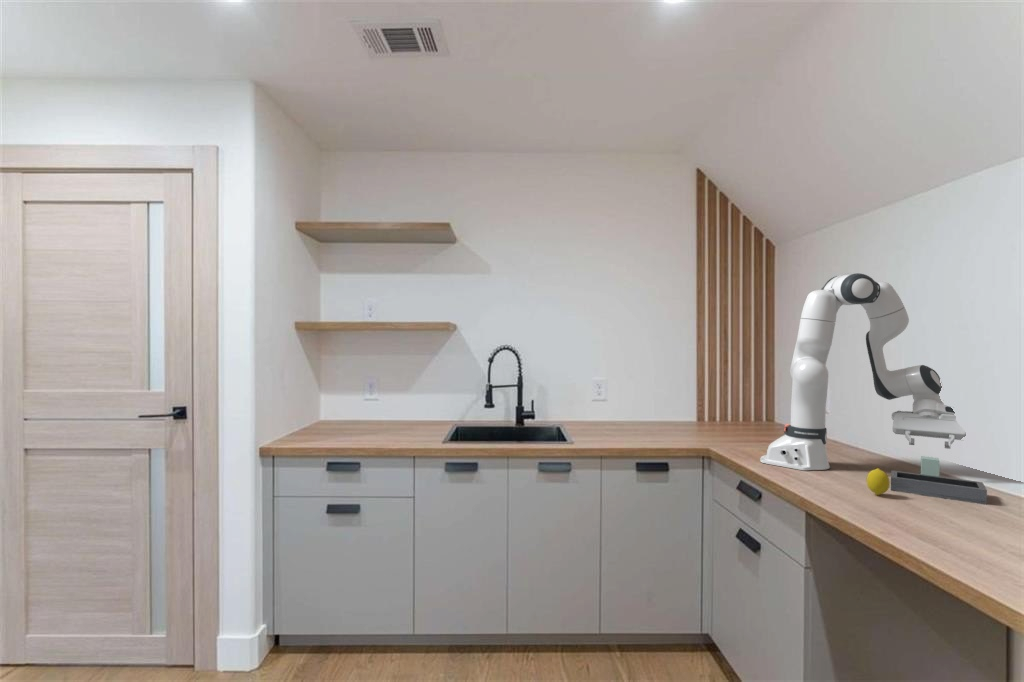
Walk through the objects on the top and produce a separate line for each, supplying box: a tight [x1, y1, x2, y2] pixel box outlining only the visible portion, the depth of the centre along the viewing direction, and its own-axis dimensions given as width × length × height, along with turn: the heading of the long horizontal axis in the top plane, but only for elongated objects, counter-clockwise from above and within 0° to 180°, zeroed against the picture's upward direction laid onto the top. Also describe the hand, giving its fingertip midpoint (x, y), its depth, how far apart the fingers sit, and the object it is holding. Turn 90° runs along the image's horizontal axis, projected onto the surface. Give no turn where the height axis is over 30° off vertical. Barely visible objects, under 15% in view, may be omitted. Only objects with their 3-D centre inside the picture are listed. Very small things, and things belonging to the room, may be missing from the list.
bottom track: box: [890, 470, 988, 505], centre depth 160 cm, size 22×10×4 cm, turn 54°
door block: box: [920, 455, 940, 477], centre depth 171 cm, size 4×4×8 cm
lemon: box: [866, 467, 890, 496], centre depth 157 cm, size 6×6×8 cm
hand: (929, 445), depth 177 cm, fingers open, 8 cm apart
